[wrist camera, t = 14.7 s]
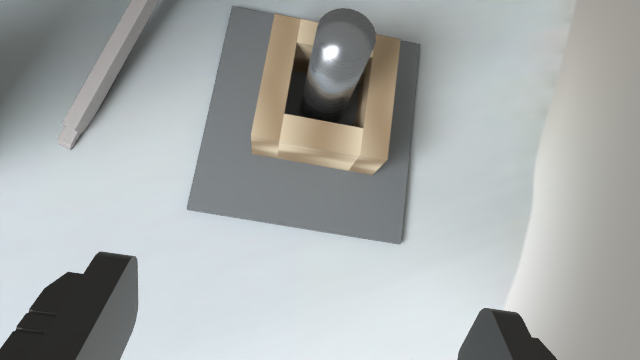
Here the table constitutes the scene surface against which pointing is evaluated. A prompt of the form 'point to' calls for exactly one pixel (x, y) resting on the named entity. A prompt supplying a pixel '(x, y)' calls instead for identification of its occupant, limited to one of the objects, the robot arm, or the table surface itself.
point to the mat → (289, 176)
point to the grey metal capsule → (336, 63)
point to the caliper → (105, 70)
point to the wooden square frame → (315, 135)
